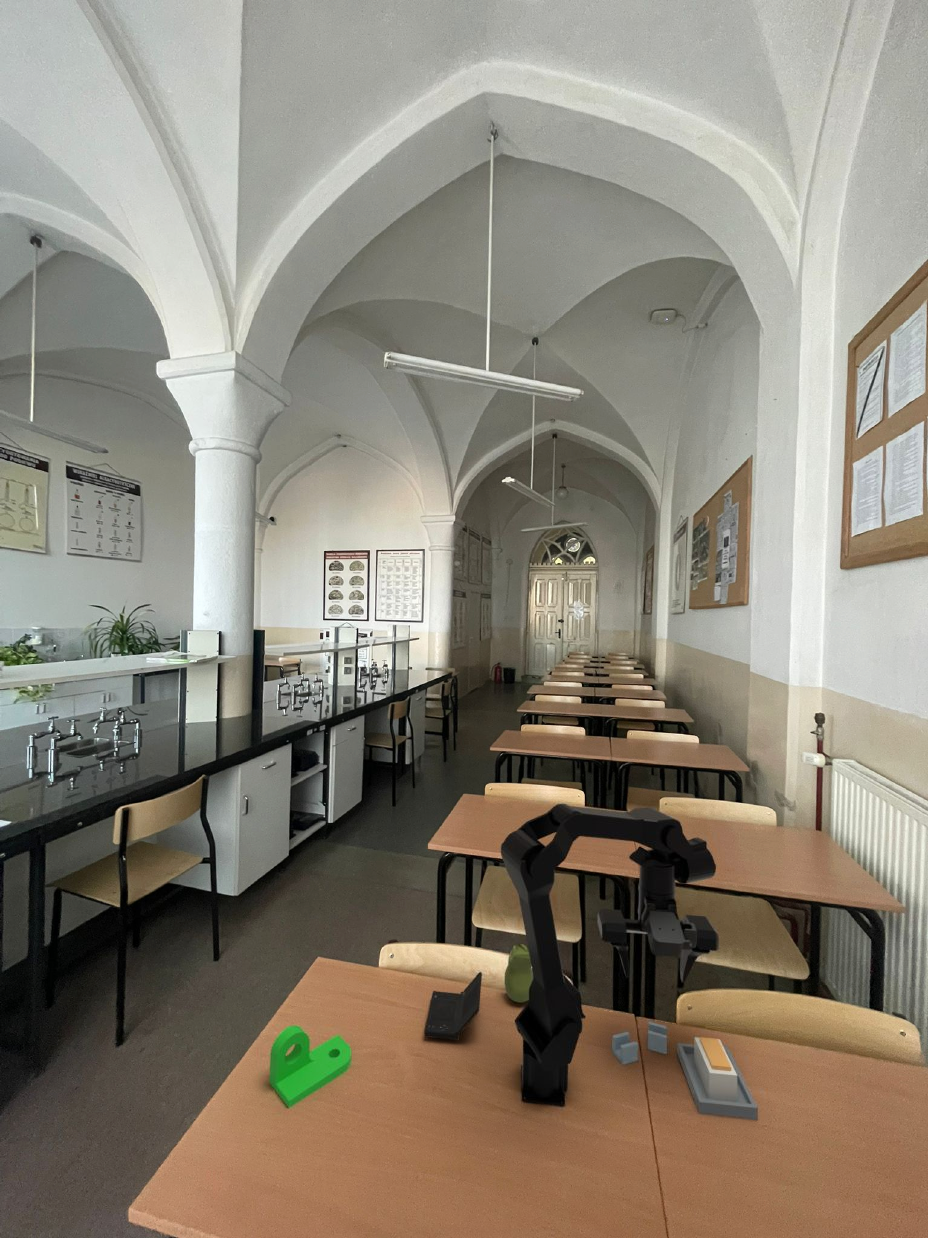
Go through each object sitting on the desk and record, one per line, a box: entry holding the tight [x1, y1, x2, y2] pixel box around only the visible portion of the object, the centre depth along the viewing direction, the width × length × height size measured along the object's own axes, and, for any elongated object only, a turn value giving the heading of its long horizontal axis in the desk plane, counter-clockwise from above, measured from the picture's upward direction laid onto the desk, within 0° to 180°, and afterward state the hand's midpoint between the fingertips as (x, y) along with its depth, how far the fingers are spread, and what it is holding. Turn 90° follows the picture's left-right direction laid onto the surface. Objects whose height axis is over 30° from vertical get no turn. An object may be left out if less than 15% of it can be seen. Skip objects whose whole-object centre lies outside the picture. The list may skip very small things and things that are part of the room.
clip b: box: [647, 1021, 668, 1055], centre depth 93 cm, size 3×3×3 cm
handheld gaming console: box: [423, 971, 483, 1041], centre depth 98 cm, size 12×7×10 cm
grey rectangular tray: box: [676, 1042, 759, 1121], centre depth 85 cm, size 8×11×2 cm
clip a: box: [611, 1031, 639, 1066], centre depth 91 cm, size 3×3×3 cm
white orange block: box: [693, 1036, 737, 1102], centre depth 85 cm, size 4×7×5 cm, turn 175°
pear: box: [504, 943, 533, 1004], centre depth 104 cm, size 6×5×10 cm
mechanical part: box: [269, 1024, 352, 1109], centre depth 85 cm, size 12×6×8 cm, turn 135°
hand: (654, 979), depth 92 cm, fingers open, 9 cm apart
